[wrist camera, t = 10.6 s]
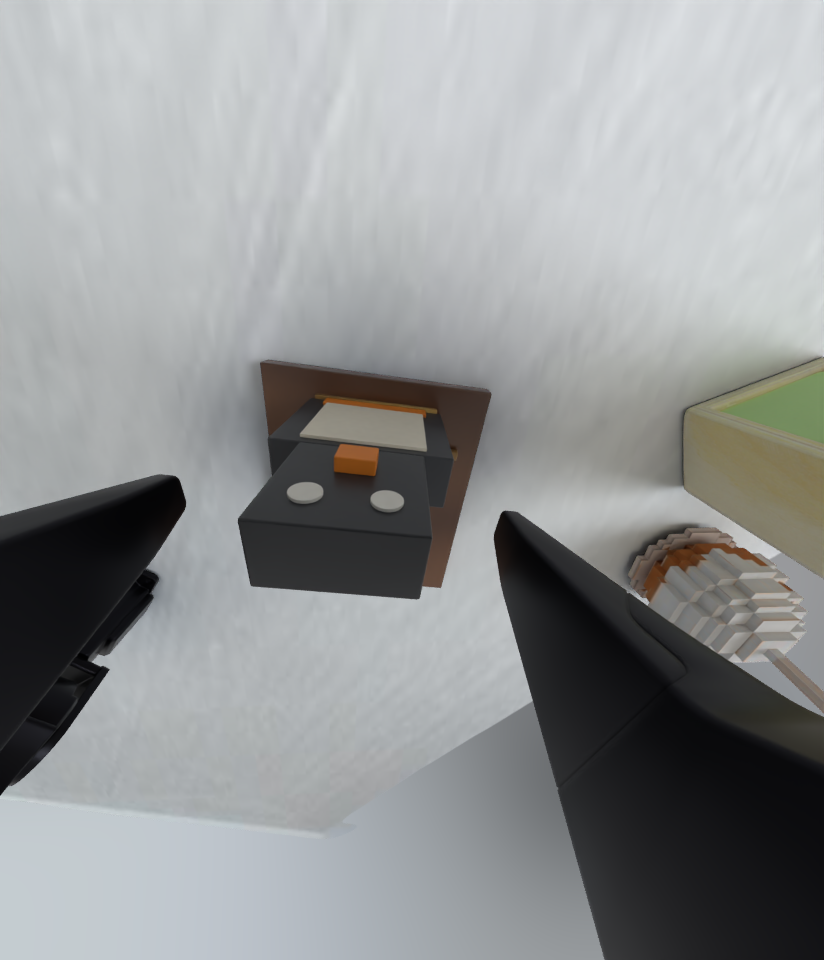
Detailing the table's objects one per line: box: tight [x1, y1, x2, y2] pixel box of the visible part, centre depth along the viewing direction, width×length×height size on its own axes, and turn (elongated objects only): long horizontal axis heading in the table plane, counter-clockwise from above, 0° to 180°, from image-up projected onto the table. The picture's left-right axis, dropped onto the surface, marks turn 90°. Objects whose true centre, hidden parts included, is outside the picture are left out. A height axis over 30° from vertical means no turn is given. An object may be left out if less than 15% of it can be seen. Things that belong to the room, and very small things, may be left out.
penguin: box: [238, 398, 454, 599], centre depth 13 cm, size 11×8×3 cm
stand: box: [260, 360, 491, 588], centre depth 21 cm, size 16×13×2 cm
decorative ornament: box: [628, 528, 824, 713], centre depth 19 cm, size 8×8×15 cm
